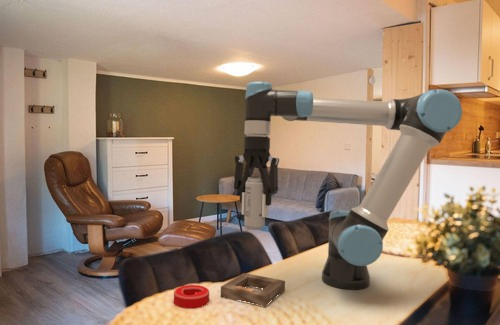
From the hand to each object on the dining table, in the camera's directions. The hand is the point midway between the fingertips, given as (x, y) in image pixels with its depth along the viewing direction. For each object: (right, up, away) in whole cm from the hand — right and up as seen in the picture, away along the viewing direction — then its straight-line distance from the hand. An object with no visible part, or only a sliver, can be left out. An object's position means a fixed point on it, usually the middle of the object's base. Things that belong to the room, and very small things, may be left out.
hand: (254, 215), depth 112 cm
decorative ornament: (-18, -23, -7) cm, 30 cm away
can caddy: (0, -23, 0) cm, 23 cm away
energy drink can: (0, -4, 0) cm, 4 cm away
